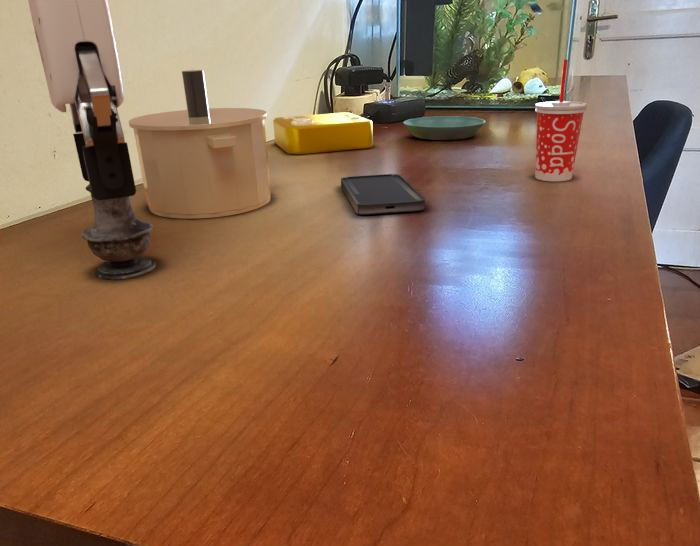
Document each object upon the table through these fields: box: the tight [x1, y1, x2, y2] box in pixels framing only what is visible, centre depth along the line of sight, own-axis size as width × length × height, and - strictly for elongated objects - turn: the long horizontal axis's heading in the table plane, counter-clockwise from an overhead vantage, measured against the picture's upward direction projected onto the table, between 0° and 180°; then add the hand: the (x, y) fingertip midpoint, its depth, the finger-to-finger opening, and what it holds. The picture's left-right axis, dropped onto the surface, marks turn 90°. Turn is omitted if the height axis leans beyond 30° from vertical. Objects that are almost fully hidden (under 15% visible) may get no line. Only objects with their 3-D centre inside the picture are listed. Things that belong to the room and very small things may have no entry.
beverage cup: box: [534, 59, 588, 182], centre depth 80 cm, size 6×6×14 cm
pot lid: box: [128, 69, 268, 131], centre depth 73 cm, size 16×16×6 cm
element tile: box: [272, 112, 374, 156], centre depth 112 cm, size 15×15×5 cm
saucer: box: [403, 115, 486, 141], centre depth 116 cm, size 15×15×3 cm
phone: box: [340, 173, 426, 216], centre depth 76 cm, size 8×1×15 cm
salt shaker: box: [81, 145, 157, 281], centre depth 54 cm, size 6×6×12 cm
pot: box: [132, 119, 272, 220], centre depth 76 cm, size 15×20×10 cm
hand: (108, 186), depth 54 cm, fingers open, 7 cm apart
